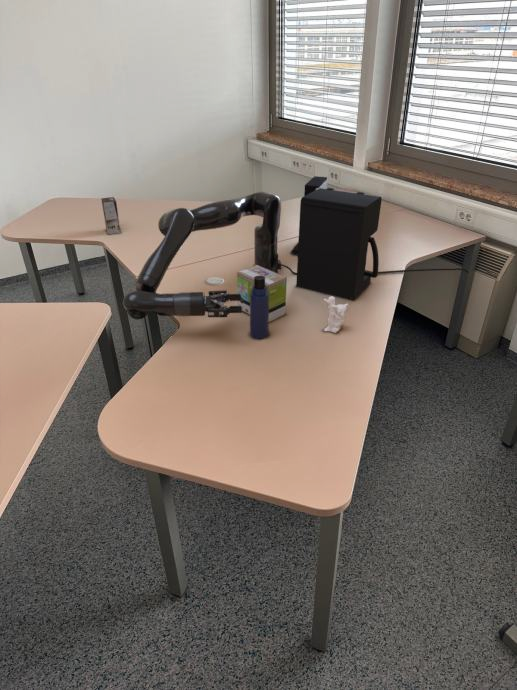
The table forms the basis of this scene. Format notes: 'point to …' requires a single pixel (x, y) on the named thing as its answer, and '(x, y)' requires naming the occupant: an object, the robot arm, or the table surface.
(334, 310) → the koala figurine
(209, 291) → the robot arm
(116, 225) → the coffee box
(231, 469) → the table surface
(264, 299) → the water bottle
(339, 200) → the coffee maker
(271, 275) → the tea box
